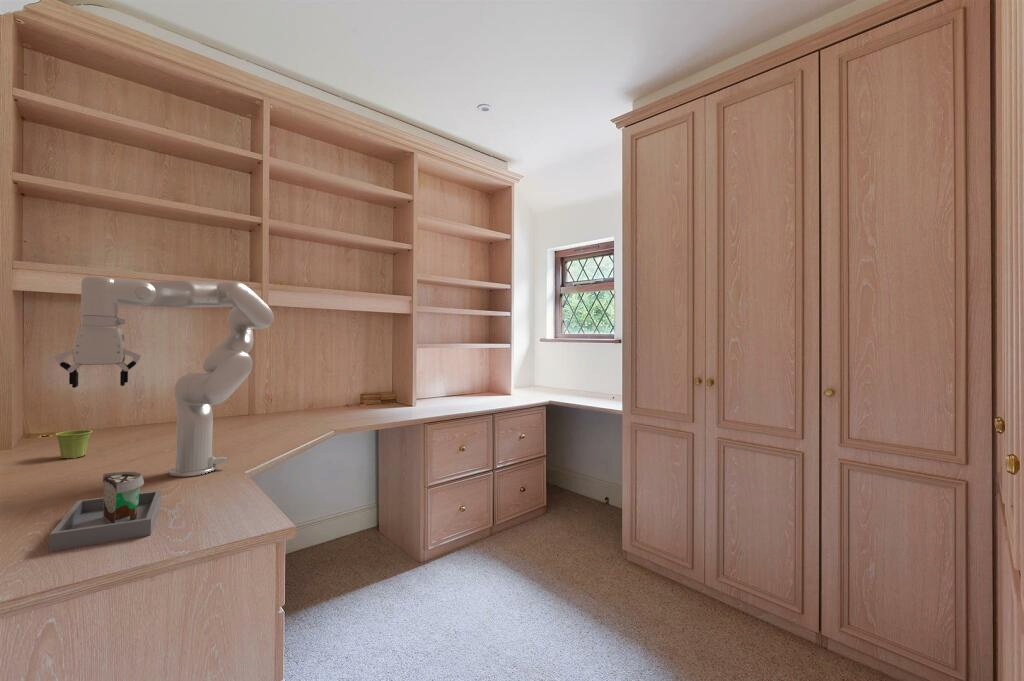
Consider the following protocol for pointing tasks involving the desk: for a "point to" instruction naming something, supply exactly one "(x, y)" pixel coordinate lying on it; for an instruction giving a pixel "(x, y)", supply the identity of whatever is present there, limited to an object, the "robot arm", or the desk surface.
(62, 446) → the plant pot
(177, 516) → the desk surface
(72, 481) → the desk surface
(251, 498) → the desk surface
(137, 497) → the food container
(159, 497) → the parts tray
